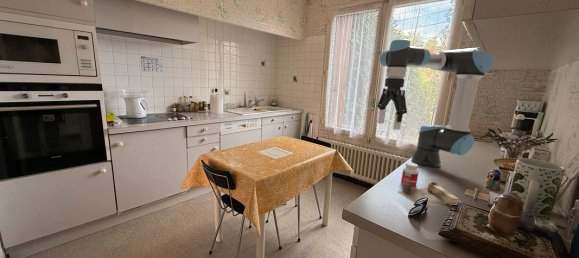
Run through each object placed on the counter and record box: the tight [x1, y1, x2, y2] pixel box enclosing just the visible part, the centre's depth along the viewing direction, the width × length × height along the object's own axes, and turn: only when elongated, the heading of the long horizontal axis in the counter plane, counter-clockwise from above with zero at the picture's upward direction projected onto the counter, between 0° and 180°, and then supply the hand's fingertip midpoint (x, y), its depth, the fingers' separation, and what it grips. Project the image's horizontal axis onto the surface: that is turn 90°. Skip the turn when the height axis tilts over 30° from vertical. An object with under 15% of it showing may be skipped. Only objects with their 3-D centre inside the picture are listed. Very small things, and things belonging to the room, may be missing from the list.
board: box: [396, 182, 463, 209], centre depth 95 cm, size 20×14×5 cm
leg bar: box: [427, 181, 460, 207], centre depth 94 cm, size 14×4×4 cm, turn 3°
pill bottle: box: [400, 161, 420, 188], centre depth 105 cm, size 6×6×11 cm
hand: (388, 126), depth 105 cm, fingers open, 13 cm apart
